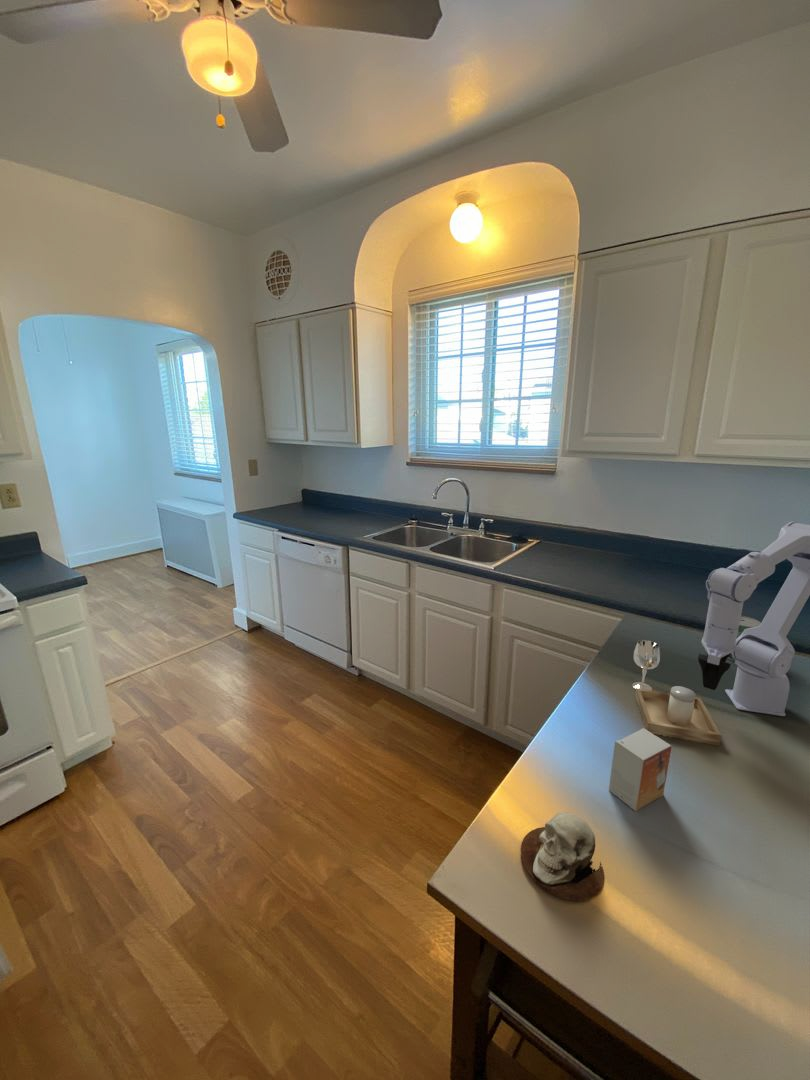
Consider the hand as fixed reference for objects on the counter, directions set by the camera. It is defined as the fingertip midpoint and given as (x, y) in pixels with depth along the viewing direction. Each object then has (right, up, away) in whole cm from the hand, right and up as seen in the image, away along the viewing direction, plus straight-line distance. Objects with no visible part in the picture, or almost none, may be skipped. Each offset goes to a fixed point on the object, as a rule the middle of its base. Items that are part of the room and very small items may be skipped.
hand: (711, 680), depth 98 cm
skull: (-44, -18, -31) cm, 57 cm away
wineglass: (-8, -6, +14) cm, 17 cm away
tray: (-8, -9, +2) cm, 12 cm away
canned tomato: (+27, -2, +29) cm, 40 cm away
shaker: (-7, -9, 0) cm, 11 cm away
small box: (-26, -15, -18) cm, 35 cm away
